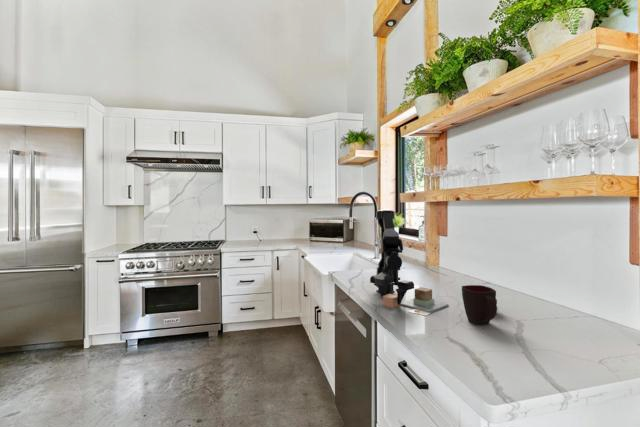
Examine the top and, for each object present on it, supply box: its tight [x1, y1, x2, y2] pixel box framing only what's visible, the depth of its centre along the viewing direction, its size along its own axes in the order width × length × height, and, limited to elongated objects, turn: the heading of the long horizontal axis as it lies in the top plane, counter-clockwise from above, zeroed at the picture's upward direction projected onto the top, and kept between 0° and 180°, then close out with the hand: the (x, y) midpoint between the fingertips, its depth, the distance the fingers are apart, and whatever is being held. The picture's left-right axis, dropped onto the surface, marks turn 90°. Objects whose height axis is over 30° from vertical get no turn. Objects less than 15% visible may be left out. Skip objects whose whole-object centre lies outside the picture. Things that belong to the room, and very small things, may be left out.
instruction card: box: [408, 308, 431, 317], centre depth 124 cm, size 7×5×1 cm
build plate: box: [400, 297, 449, 314], centre depth 133 cm, size 14×14×3 cm
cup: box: [461, 284, 498, 326], centre depth 111 cm, size 10×14×12 cm
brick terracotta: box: [382, 293, 401, 309], centre depth 133 cm, size 5×5×4 cm
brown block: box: [414, 286, 433, 301], centre depth 133 cm, size 5×5×4 cm
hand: (391, 302), depth 133 cm, fingers open, 7 cm apart
